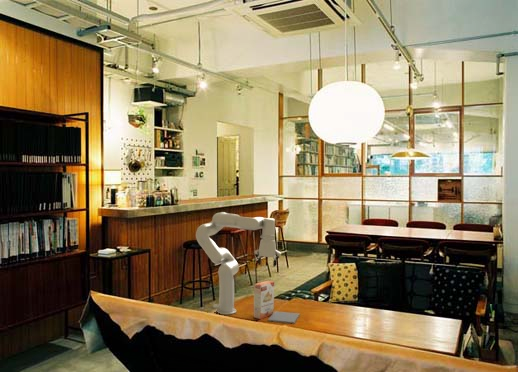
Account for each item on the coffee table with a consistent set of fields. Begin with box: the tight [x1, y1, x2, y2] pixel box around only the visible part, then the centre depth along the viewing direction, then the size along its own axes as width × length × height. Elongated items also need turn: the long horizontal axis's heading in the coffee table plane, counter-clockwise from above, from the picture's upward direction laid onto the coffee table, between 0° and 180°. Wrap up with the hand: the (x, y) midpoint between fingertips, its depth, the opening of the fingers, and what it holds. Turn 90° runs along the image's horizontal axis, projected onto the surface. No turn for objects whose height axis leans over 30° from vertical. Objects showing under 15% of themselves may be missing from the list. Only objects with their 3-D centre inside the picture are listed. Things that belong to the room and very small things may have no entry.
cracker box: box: [253, 280, 275, 320], centre depth 272 cm, size 14×6×21 cm, turn 143°
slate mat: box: [267, 311, 301, 325], centre depth 268 cm, size 16×18×1 cm
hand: (266, 265), depth 271 cm, fingers open, 9 cm apart
